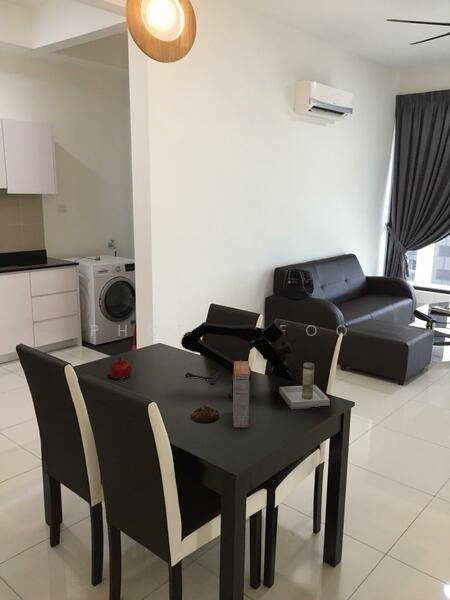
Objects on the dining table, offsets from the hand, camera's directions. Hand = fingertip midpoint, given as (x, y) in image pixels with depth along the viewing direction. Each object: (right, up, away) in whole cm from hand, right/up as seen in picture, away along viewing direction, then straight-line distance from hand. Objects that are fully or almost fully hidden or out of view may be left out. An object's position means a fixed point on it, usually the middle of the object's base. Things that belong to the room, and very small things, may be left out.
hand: (292, 376), depth 207 cm
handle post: (+6, -9, +2) cm, 11 cm away
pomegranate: (-75, -4, +24) cm, 79 cm away
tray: (+5, -10, +1) cm, 11 cm away
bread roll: (-35, -13, -16) cm, 41 cm away
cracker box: (-22, -14, -18) cm, 31 cm away
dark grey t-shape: (-38, -5, +24) cm, 46 cm away
